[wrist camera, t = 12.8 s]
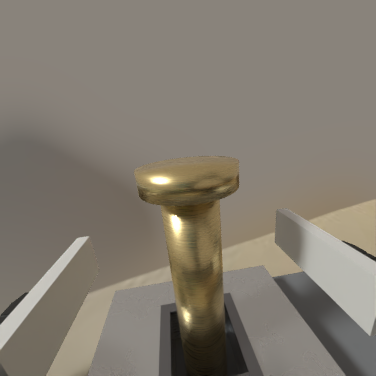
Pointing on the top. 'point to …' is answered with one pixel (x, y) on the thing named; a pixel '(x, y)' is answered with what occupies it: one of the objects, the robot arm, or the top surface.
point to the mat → (316, 329)
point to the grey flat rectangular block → (234, 324)
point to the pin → (194, 249)
